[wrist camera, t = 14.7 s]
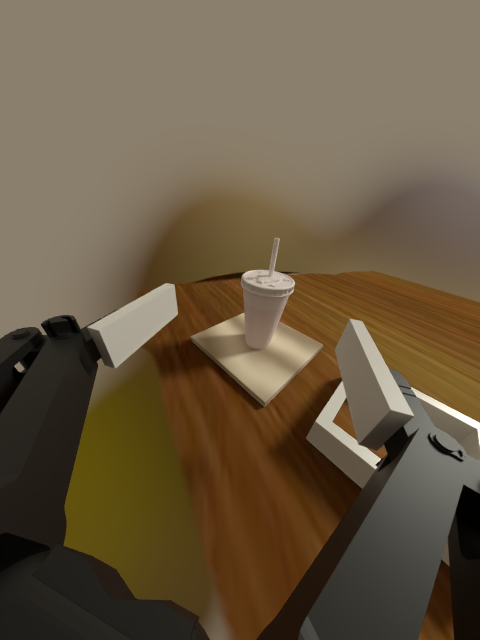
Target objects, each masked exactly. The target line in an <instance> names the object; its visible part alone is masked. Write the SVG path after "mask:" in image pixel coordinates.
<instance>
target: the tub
mask: <svg viewBox="0 0 480 640" xmlns="http://www.w3.org/2000/svg"><path fill="white" fill-rule="evenodd" d="M411 390H413V392H414V393H415V395H416V398H418V400H419V401H420V403H421V404H422V406H423V408H424V409H425V411H426V413H427V414H428V416H429V417H430V419H431V421H432V422H433V424H434V425H435V427H437V428H439V429H441V430H442V431H444V432H446V433H448V434H449V435H450V436H451V437H453V438H454V439H455V440H456V441H457V442H458V443H459V444H460V445H461V446H462V447H463V448H464V450H465V451H466V453H467V455H469V456H471V457H473V458H475V459H477V460H479V461H480V423H479V422H477V421H475V420H473V419H471V418H469V417H467V416H465V415H463V414H461V413H460V412H458V411H456V410H454V409H452V408H450V407H448V406H446V405H444V404H442V403H440V402H438V401H436V400H435V399H433V398H431V397H429V396H427V395H425V394H423V393H421V392H419V391H417V390H415V389H413V388H411ZM345 399H346V393H345V389H344V385H343V381H342V382H341V383H340V385H339V386H338V388H337V389H336V391H335V392H334V394H333V395H332V397H331V398H330V400H329V401H328V403H327V404H326V406H325V407H324V409H323V410H322V412H321V413H320V415H319V416H318V418H317V419H316V421H315V422H314V424H313V426H312V428H311V430H310V431H309V433H308V435H307V437H306V439H307V440H308V441H309V442H310V443H311V444H312V445H313V446H315V447H316V448H317V449H318V450H319V451H320V452H321V453H322V454H324V455H325V456H326V457H327V458H328V459H329V460H330V461H331V462H333V463H334V464H335V465H336V466H337V467H338V468H339V469H340V470H342V471H343V472H344V473H345V474H346V475H347V476H348V477H349V478H351V479H352V480H353V481H354V482H355V483H356V484H357V485H358V486H359V487H361V488H362V489H363V488H364V486H365V485H366V483H367V482H368V480H369V479H370V477H371V476H372V474H373V473H374V471H375V470H376V468H377V466H376V464H377V463H378V462H379V461H380V460H381V459H380V458H379V457H377V456H376V455H375V454H373V453H372V452H371V451H370V450H368V449H367V448H366V447H364V446H361V445H358V442H357V441H356V440H355V439H354V438H352V437H351V436H350V435H349V434H347V433H346V432H345V431H343V430H342V429H341V428H339V427H338V426H337V425H335V424H334V423H333V422H332V421H333V419H334V418H335V416H336V414H337V412H338V411H339V409H340V407H341V405H342V404H343V402H344V400H345ZM442 560H443V561H444V562H445V563H446V564H447V565H448V566H449V567H450V565H449V550H448V538H447V542H446V545H445V549H444V552H443V555H442Z"/></svg>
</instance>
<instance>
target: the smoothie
mask: <svg viewBox="0 0 480 640" xmlns="http://www.w3.org/2000/svg"><path fill="white" fill-rule="evenodd" d="M279 240H280V239H279V238H275V239H274V245H273V251H272V257H271V263H270V269H269V270H252V271H248V272H246V273H244V274H243V275H242V281H241V286H242V287H243V289H244V317H245V341H246V343H247V345H248V346H250V347H251V348H254V349H265V348H267V347H269V345H270V343H271V340H272V338H273V335H274V333H275V330H276V328H277V325H278V322H279V320H280V317H281V315H282V312H283V310H284V307H285V305H286V302H287V299H288V297H289V295H290V294H292V293H293V291H294V285H295V282H294V280H293V279H292V278H291V277H289V276H287V275H285V274H282V273H279V272H275V271H274V267H275V262H276V257H277V251H278V245H279Z"/></svg>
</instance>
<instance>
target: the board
mask: <svg viewBox="0 0 480 640" xmlns="http://www.w3.org/2000/svg"><path fill="white" fill-rule="evenodd" d="M191 341H192V342H193V343H194V344H195V345H197V346H198V347H199V348H200V349H201V350H202V351H203V352H204V353H205V354H206V355H207V356H209V357H210V358H211V359H212V360H213V361H214V362H215V363H216V364H217V365H218V366H220V367H221V368H222V369H223V370H224V371H225V372H226V373H227V374H228V375H229V376H230V377H232V378H233V379H234V380H235V381H236V382H237V383H238V384H239V385H240V386H241V387H243V388H244V389H245V390H246V391H247V392H248V393H249V394H250V395H251V396H252V397H253V398H255V399H256V400H257V401H258V402H259V403H260V404H261V405H262V406H263V407H265V406H266V405H267V404H268V403H269V402H270V401H271V400H272V399H273V398H274V397H275V396H276V395H277V394H278V393H279V392H280V391H281V390H282V389H283V388H284V387H285V386H286V385H287V384H288V383H289V382H290V381H291V380H292V379H293V378H294V377H295V376H296V375H297V374H298V373H299V372H300V371H301V370H302V369H303V368H304V367H305V366H306V365H307V364H308V363H309V362H310V361H311V360H312V359H313V358H314V357H315V356H316V355H317V354H318V353H319V352H320V351H321V350H322V348H323V346H324V345H323V344H321V343H319V342H317V341H315V340H313V339H311V338H309V337H308V336H306V335H304V334H302V333H300V332H298V331H296V330H294V329H292V328H291V327H289V326H287V325H285V324H283V323H281V322H278V325H277V328H276V330H275V333H274V335H273V338H272V340H271V343H270V345H269V347H267V348H265V349H254V348H251V347H250V346H248V345H247V343H246V341H245V317H244V313H242V314H240V315H238V316H236V317H233V318H231V319H229V320H227V321H225V322H222V323H220V324H218V325H216V326H213V327H211V328H209V329H207V330H204V331H202V332H200V333H198V334H195V335H193V336H191Z"/></svg>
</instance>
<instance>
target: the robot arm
mask: <svg viewBox="0 0 480 640" xmlns="http://www.w3.org/2000/svg"><path fill="white" fill-rule="evenodd" d="M177 315H178V310H177V302H176V294H175V286H174V285H173V284H167V283H166V284H164V285H162V286H160V287H158V288H156V289H155V290H153V291H151V292H149V293H147V294H146V295H144V296H142V297H140V298H139V299H137V300H135V301H134V302H131V303H130V304H128V305H126V306H124V307H122V308H120V309H118V310H115V311H113V312H111V313H109V315H106V316H104V317H103V318H100V319H99V320H97V321H95V322H93V323H91V324H89V325H88V326H86V327H84V328H82V329H80V327H79V325H78V323H77V321H76V319H75V317H73V316H70V315H62V316H57V317H53V318H50V319H48V320H46V321H44V322H43V323H41V326H42V327H43V329H44V330H45V332H46V334H47V335H42V333H41V332H40V330H39V329H38V328H36V327H28V328H21V329H17V330H15V331H13V332H10V333H9V334H7V335H5V336H4V337H2V338H1V339H0V640H210V639H209V637H208V636H207V634H206V632H205V630H204V629H203V628H202V626H201V625H200V623H199V622H198V620H199V616H197V615H195V614H194V613H192V612H190V611H188V610H187V609H185V608H183V607H181V606H180V605H178V604H176V603H174V602H172V601H171V600H139V599H136V598H135V597H134V595H133V594H132V592H131V591H130V589H129V588H128V587H127V585H126V584H125V582H124V580H123V579H122V578H121V576H120V574H119V573H118V572H117V570H116V569H114V568H112V567H111V566H109V565H107V564H105V563H104V562H102V561H100V560H98V559H97V558H95V557H93V556H91V555H88V554H85V553H82V552H79V551H77V550H74V549H71V548H68V547H65V546H63V544H64V539H65V533H66V516H65V511H64V505H65V500H66V496H67V492H68V487H69V483H70V479H71V475H72V471H73V467H74V463H75V459H76V455H77V450H78V446H79V442H80V438H81V434H82V430H83V426H84V422H85V418H86V414H87V410H88V405H89V401H90V397H91V393H92V389H93V385H94V381H95V376H96V373H97V368H98V363H97V361H98V360H99V359H100V358H102V360H103V362H104V365H106V366H109V367H112V368H117V367H118V366H119V365H120V364H121V363H122V362H124V361H125V360H126V359H127V358H128V357H129V356H130V355H131V354H133V353H134V352H135V351H136V350H137V349H138V348H140V347H141V346H142V345H143V344H144V343H145V342H147V341H148V340H149V339H150V338H151V337H152V336H153V335H155V334H156V333H157V332H158V331H159V330H160V329H162V328H163V327H164V326H165V325H166V324H167V323H168V322H170V321H171V320H172V319H173V318H174V317H175V316H177ZM335 352H336V356H337V360H338V365H339V369H340V373H341V377H342V381H343V385H344V389H345V393H346V397H347V401H348V405H349V409H350V413H351V417H352V421H353V425H354V430H355V434H356V438H357V442H358V445H361V446H364V447H367V448H370V449H373V450H378V449H379V448H380V447H382V446H383V445H385V448H386V450H387V453H388V454H387V455H386V456H385V457H384V458H383V459H381V460H380V461H379V462H378V463H377V464H376V466H377V468H376V470H375V471H374V473H373V474H372V476H371V477H370V479H369V480H368V482H367V483H366V485H365V486H364V488H363V489H362V491H361V492H360V494H359V495H358V497H357V498H356V500H355V501H354V502H353V504H352V505H351V507H350V508H349V510H348V511H347V513H346V514H345V516H344V517H343V519H342V520H341V522H340V523H339V525H338V526H337V528H336V529H335V531H334V532H333V534H332V535H331V536H330V538H329V539H328V541H327V542H326V544H325V545H324V547H323V548H322V550H321V551H320V553H319V554H318V556H317V557H316V559H315V560H314V562H313V563H312V565H311V566H310V568H309V569H308V570H307V572H306V573H305V575H304V576H303V578H302V579H301V581H300V582H299V584H298V585H297V587H296V588H295V590H294V591H293V593H292V594H291V596H290V597H289V599H288V600H287V602H286V603H285V605H284V606H283V607H282V609H281V610H280V612H279V613H278V615H277V616H276V617H275V618H274V620H273V621H272V622H271V623H270V624H269V625H268V626H267V627H266V628H265V629H264V630H263V632H262V633H261V634H260V635H259V637H258V638H257V639H256V640H418V637H419V634H420V631H421V627H422V624H423V620H424V617H425V613H426V610H427V607H428V603H429V600H430V596H431V593H432V590H433V586H434V583H435V579H436V576H437V572H438V569H439V566H440V562H441V559H442V555H443V552H444V549H445V545H446V542H447V538H448V550H449V565H450V581H451V596H452V612H453V628H454V640H480V461H479V460H477V459H475V458H473V457H471V456H469V455H467V453H466V451H465V450H464V448H463V447H462V446H461V445H460V444H459V443H458V442H457V441H456V440H455V439H454V438H453V437H451V436H450V435H449V434H448V433H446V432H444V431H442V430H441V429H439V428H437V427H435V425H434V424H433V422H432V421H431V419H430V417H429V416H428V414H427V413H426V411H425V409H424V408H423V406H422V404H421V403H420V401H419V400H418V398H416V395H415V393H414V392H413V390H411V387H410V385H409V383H408V382H407V380H406V379H405V378H404V377H403V376H402V375H401V374H400V373H399V372H398V371H397V370H393V369H389V368H388V367H387V365H386V363H385V362H384V360H383V358H382V356H381V354H380V353H379V351H378V349H377V347H376V345H375V343H374V342H373V340H372V338H371V336H370V334H369V333H368V331H367V329H366V327H365V325H364V324H363V322H362V321H358V320H353V319H350V320H349V322H348V324H347V326H346V328H345V330H344V332H343V334H342V336H341V338H340V340H339V342H338V344H337V346H336V349H335ZM18 362H20V363H21V365H22V366H23V367H24V368H25V369H24V370H23V371H22V372H18V371H17V369H16V368H15V367H14V365H15V364H17V363H18Z"/></svg>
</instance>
